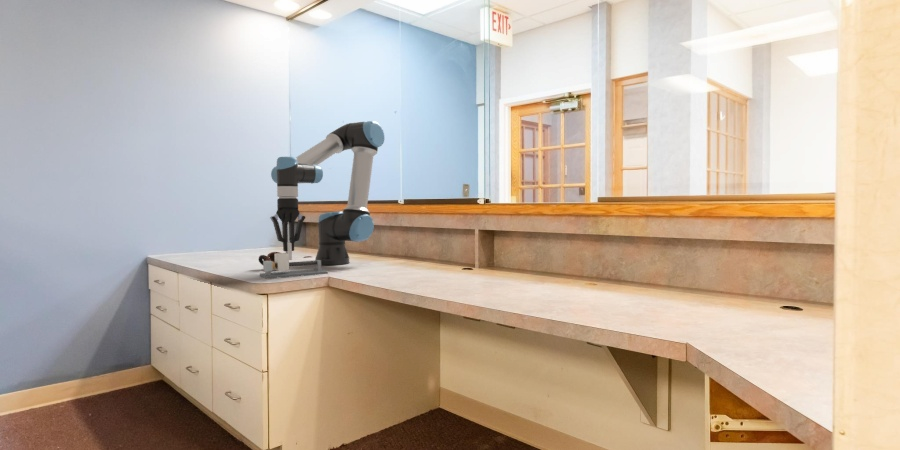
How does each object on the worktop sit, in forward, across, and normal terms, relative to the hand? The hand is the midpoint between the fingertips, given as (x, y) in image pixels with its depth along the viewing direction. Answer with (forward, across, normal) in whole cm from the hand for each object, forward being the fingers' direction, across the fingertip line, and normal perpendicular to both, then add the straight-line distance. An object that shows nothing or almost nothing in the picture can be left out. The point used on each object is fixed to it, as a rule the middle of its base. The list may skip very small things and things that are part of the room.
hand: (288, 259), depth 195 cm
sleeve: (+4, +3, 0) cm, 5 cm away
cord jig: (+6, -2, 0) cm, 6 cm away
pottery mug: (+6, 0, -21) cm, 22 cm away
